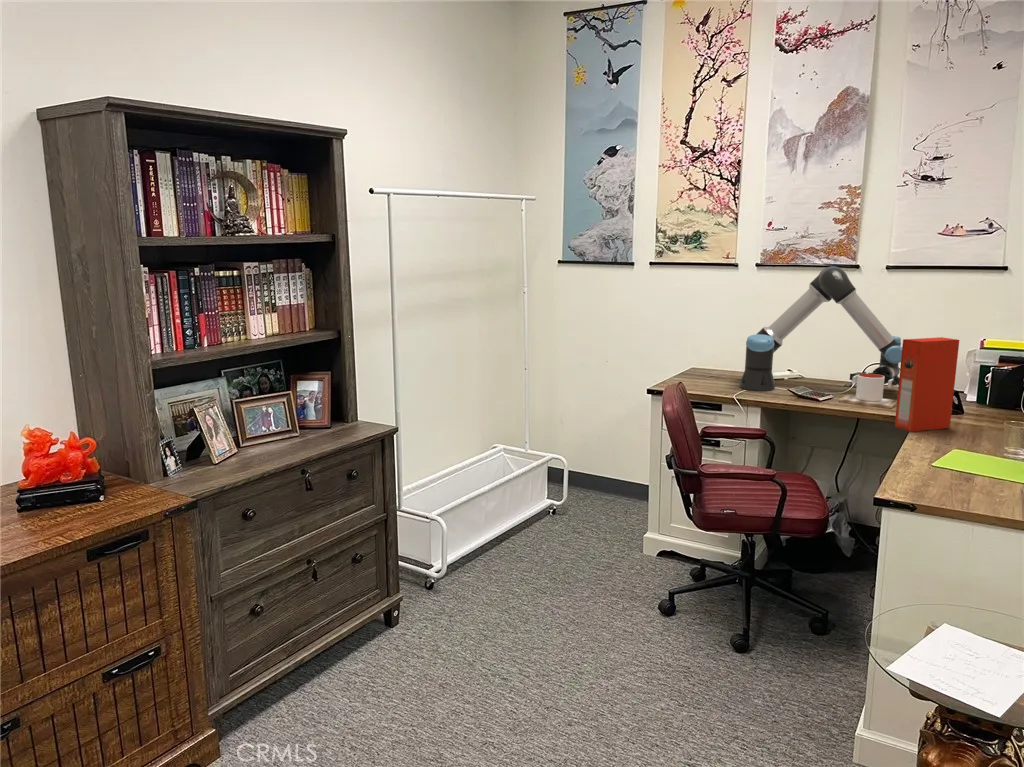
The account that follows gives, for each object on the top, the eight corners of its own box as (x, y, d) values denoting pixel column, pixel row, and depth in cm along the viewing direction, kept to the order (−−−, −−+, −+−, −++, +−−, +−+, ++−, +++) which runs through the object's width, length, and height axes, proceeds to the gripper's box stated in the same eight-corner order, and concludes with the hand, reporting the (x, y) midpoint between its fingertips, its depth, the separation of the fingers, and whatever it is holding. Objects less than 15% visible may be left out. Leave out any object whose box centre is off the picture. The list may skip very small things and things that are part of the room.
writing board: (838, 402, 313) (838, 399, 313) (847, 396, 324) (847, 393, 324) (891, 408, 301) (891, 406, 301) (898, 402, 312) (898, 400, 312)
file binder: (893, 426, 273) (903, 338, 267) (930, 423, 279) (940, 336, 272) (912, 432, 266) (921, 342, 259) (949, 428, 271) (960, 339, 265)
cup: (876, 397, 317) (879, 373, 315) (886, 402, 307) (888, 378, 305) (852, 396, 318) (854, 373, 316) (860, 401, 308) (862, 377, 306)
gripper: (914, 387, 320) (903, 395, 303) (851, 380, 335) (838, 387, 318) (916, 369, 318) (905, 376, 302) (853, 363, 333) (839, 369, 317)
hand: (870, 382), depth 310 cm, fingers open, 13 cm apart
